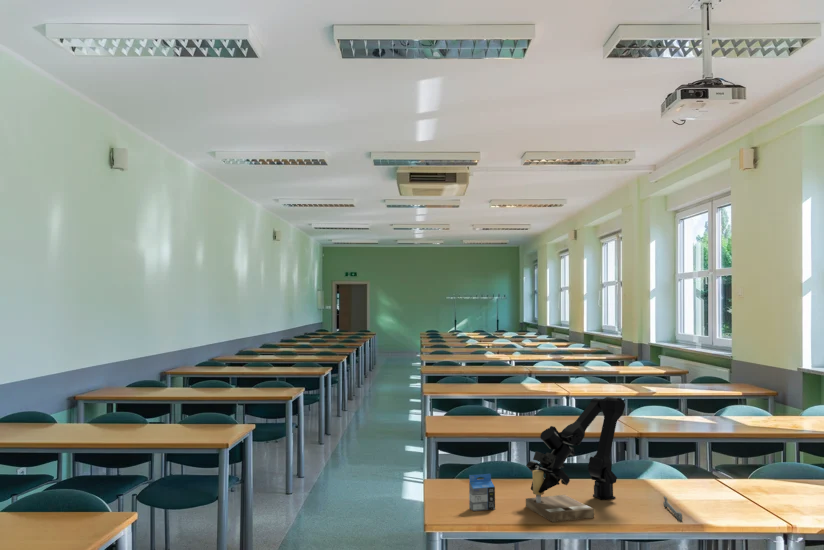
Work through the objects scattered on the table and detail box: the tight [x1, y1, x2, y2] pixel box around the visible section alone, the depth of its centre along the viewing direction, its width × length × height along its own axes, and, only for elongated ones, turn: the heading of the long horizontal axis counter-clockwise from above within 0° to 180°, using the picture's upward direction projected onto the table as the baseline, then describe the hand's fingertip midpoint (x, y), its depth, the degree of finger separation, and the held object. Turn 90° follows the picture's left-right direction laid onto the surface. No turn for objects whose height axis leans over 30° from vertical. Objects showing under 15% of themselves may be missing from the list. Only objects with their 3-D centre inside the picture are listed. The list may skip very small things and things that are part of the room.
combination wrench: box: [663, 495, 683, 522], centre depth 244 cm, size 4×1×20 cm
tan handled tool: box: [532, 470, 545, 503], centre depth 249 cm, size 4×4×14 cm
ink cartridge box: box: [468, 473, 496, 512], centre depth 251 cm, size 9×4×12 cm, turn 105°
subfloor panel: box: [525, 494, 595, 523], centre depth 246 cm, size 16×20×3 cm
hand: (535, 491), depth 248 cm, fingers closed on tan handled tool, 4 cm apart
